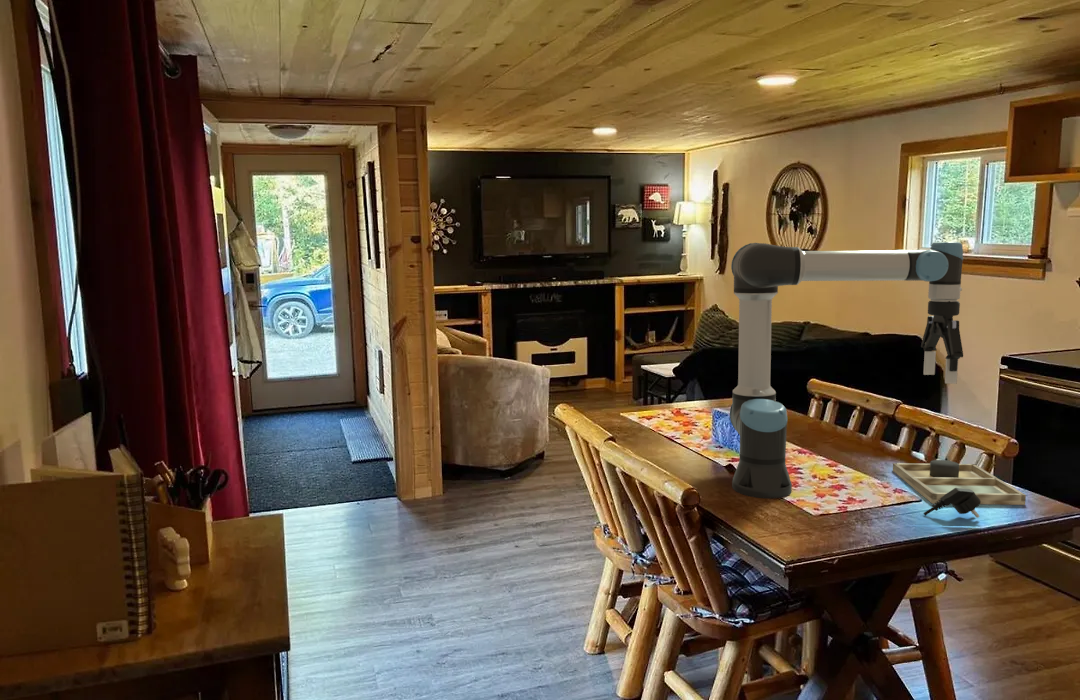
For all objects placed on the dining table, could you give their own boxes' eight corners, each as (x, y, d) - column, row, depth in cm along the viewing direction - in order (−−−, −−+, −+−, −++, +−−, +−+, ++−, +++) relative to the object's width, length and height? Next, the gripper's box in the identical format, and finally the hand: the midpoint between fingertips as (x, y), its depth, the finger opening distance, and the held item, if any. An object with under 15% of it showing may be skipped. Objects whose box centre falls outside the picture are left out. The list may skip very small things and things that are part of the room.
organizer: (932, 503, 192) (932, 493, 192) (892, 471, 219) (893, 463, 219) (1025, 504, 191) (1025, 495, 190) (973, 472, 217) (974, 464, 217)
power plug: (918, 507, 187) (962, 479, 184) (938, 532, 187) (982, 504, 184) (925, 515, 181) (970, 486, 179) (945, 541, 181) (991, 512, 178)
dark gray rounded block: (936, 479, 208) (936, 467, 207) (925, 472, 215) (926, 459, 214) (963, 479, 207) (963, 467, 207) (951, 472, 214) (952, 460, 214)
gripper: (981, 303, 193) (976, 387, 196) (938, 296, 218) (934, 371, 221) (950, 303, 194) (945, 387, 197) (910, 297, 219) (907, 371, 222)
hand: (939, 378), depth 209 cm, fingers open, 13 cm apart
